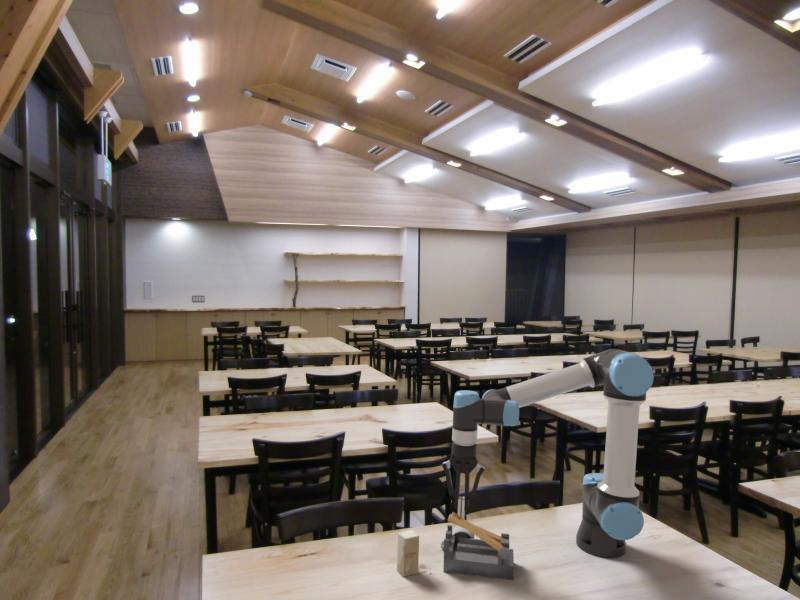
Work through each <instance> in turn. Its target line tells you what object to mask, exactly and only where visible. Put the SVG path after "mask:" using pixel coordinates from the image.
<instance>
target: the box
mask: <svg viewBox="0 0 800 600" xmlns="http://www.w3.org/2000/svg"><path fill="white" fill-rule="evenodd" d="M419 552H420V535H419V534H418V533H417V532H416V531H414V530H413V529H411V530H405V531H401V532H398V533H397V553H396V554H397V556H396V561H397V562H396V570H397V572H398V573H399V574H400V575H401V576H402V577H407V576H412V575H416V574H419V554H420V553H419Z"/></svg>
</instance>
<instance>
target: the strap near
mask: <svg viewBox="0 0 800 600" xmlns="http://www.w3.org/2000/svg"><path fill="white" fill-rule="evenodd" d="M450 514H451V519H452V520H454V521H455V522H457V523H458V524H460V525H461V526H463V527H464V528H465V529H467V530H468V531H470V532H471V533H473V534H474V536H475V537H477V538H478V539H481V540H483V541H485V542H486V543H487V544H489V545H490V546H492V547H493V548H495V549H496V550H498V551H499V552H501V548H508V547H507V546H503V545H502V544H500V543H499V542H497V541H496V540H495V539H493V538H492V537H490V536H489V535H487V534H486V533H484V532H483V531H481V530H480V529H478V528H477V527H475V526H474V525H475V524H474V525H472V524H473V523H471V522H469V521H468V520H466V519H465V517H464V518H462V517H461V516H459V515H458V513H456V512H455V511H452V513H450Z"/></svg>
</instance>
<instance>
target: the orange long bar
mask: <svg viewBox="0 0 800 600" xmlns="http://www.w3.org/2000/svg"><path fill="white" fill-rule="evenodd" d="M451 514H452V513H449V515H448V518H447V522H449V523H452V524H454V525H455V526H457V525H458V526H460V527H463V526H461V525H460V524H458V523H457V522H455V521H454V520H452V519H451ZM471 524H472V525H474V526H475V527H477V528H478V529H480V530H481V531H483V532H484V533H486V534H487V535H489V536H490V537H492V538H493V539H495V540H496V541H497V542H499V543H500V544H501V539H507V538H505V537H504V538H503V537H501V535H499V534H496V533H494V532H493V531H492V532H491V531H490V530H487V529H484V528H482V527H481V526H478V525H476V524H473V523H471ZM463 528H464V527H463ZM507 540H508V539H507Z"/></svg>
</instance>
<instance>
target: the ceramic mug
mask: <svg viewBox="0 0 800 600" xmlns="http://www.w3.org/2000/svg"><path fill="white" fill-rule="evenodd" d="M452 536H455V543H459V537H463V538H472V539H475V535H474V534H473V533H471V532H470V531H468V530H467V529H465V528H463V527H460V526H458V525H455V526H454V527H453V528H452ZM440 548H441V550H442V551H444V540H443V541H442V542H440Z"/></svg>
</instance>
